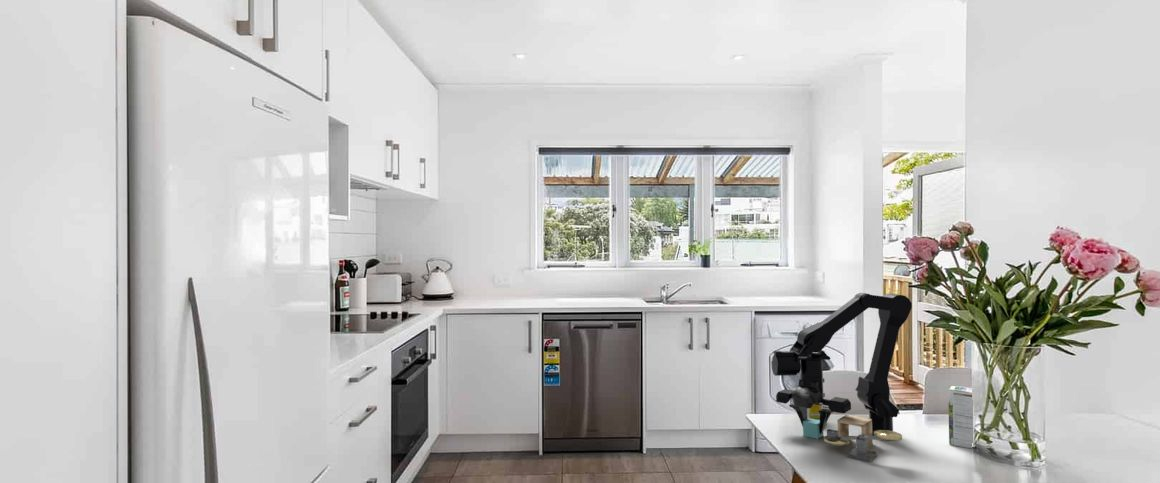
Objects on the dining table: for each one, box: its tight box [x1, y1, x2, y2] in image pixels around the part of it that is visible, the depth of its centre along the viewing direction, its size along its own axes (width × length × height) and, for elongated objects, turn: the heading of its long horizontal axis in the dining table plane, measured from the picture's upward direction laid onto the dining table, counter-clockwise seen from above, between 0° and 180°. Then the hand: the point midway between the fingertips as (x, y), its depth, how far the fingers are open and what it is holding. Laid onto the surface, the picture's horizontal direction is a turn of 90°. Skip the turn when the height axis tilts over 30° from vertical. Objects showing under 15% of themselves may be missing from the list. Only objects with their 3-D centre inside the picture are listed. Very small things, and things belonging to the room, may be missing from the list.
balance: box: [823, 428, 903, 463], centre depth 138 cm, size 6×18×7 cm, turn 46°
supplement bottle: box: [807, 404, 822, 420], centre depth 169 cm, size 5×5×10 cm
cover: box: [837, 414, 874, 449], centre depth 147 cm, size 6×6×6 cm
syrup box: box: [947, 385, 973, 449], centre depth 145 cm, size 6×6×14 cm
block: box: [802, 418, 825, 440], centre depth 154 cm, size 4×4×4 cm
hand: (813, 431), depth 154 cm, fingers closed on block, 4 cm apart
